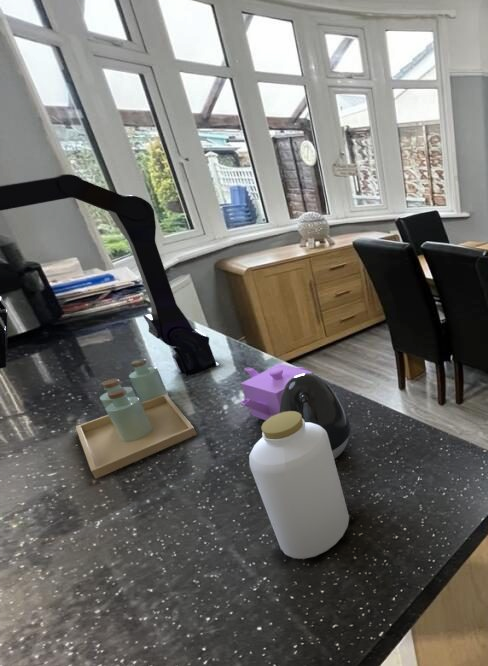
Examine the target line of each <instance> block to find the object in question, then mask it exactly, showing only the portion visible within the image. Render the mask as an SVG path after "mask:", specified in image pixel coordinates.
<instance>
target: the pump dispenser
mask: <svg viewBox="0 0 488 666" xmlns="http://www.w3.org/2000/svg"><path fill="white" fill-rule="evenodd" d="M287 411H295V412H299V413H300V414H301V415H302V418H303V419H304V421H305V422H310V423H314V424H317V425H319V426H321V427H322V428H323V429H325V431H326V432H327V435H328V438H329V442H330V446H331V450H332V453H333V457H334V460H336V459H337V458H338V457H340V455H341V454H342V453H343V452H344V451H345V449H346V446H348V443H349V440H350V439H349V438H350V434H351V430H352V429H351V423H350V420H349V417H348V414H347V413H346V410H345V408H344V407H343V405H342V403H341V400H339V398H338V396H337V395H336V393H335V392H334V390H333V389H332V387H330V385H328V383H327V382H326V381H325V380H323V379H322V378H321V377H320V376H318V375H316V374H315V373H314V374H310V373H303V374H299V375H296V376H294V377H293V378H291V379H290V380H289V381H288V382H287V384H286V386H285V388H284V390H283V393H282V396H281V401H280V410H279V413H282V412H287Z"/></svg>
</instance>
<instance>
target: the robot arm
mask: <svg viewBox="0 0 488 666" xmlns="http://www.w3.org/2000/svg"><path fill="white" fill-rule="evenodd" d="M70 198H71V199H72V198H73V199H76V200H77V201H81V202H84V203H86V204H88V205H90V206H93V207H96V208H98V209H101V210H103V211H105V212H107V213H108V214H109V216H110V217H111V219H112V221H113V222H114V223H115V226H116V227H117V229H118V230H119V231H120V233H121V234H122V236H123V237H124V238H125V240H126V242H127V243H128V245H129V248H130V250H131V253H132V256H133V259H134V261H135V264H136V267H137V269H138V272H139V276H140V279H141V280H142V283H143V286H144V289H145V292H146V294H147V297H148V300H149V303H150V307H151V311H150V313H151V314H144V315H143V318H144V320H145V321H146V323H147V325H148V332H149V333H150V334H151V335H152V336H153V337H155V338H156V339H158V340H160V341H161V342H163V343H164V344H165V345H167V346H169V347H171V348H172V347H173V348H172V352H173V353H174V354H172V359H173V362H174V364H175V367H176V369H177V371H178V372H179V373H180V374H181V375H184V376H185V377H190V376H193V375H196V374H199V373H202V372H205V371H208V370H211V369H213V368H217V367H219V366H220V365H219V363H218V362H217V360H216V358H215V356H214V353H213V351H212V348H211V346H210V337H209V336H208V335H206V334H204V333H203V332H201V331H200V330H198V329H196V328H194V327H192V325H191V323H190V322H189V320H188V318H187V317H186V315H185V314H184V313H183V312H182V310H181V308H180V307H179V305H178V304H177V302H176V298H175V296H174V292H173V289H172V286H171V283H170V281H169V277H168V276H167V272H166V269H165V266H164V263H163V260H162V256H161V254H160V252H159V248H158V245H157V241H156V232H157V231H156V229H157V224H156V215H155V210H154V208H153V206H152V204H151V203H150V202H149V201H148V200H146V199H144V198H143V197H141V196H136V195H132V194H131V195H130V194H120V193H117V192H115V191H112V190H110V189H107V188H106V187H103V186H99V185H96V184H94V183H92V182H89V181H87V180H85V179H83V178H82V177H80V176H78V175H75V174H71V173H70V174H69V173H63V174H58V175H56V176H51V177H47V178H40V179H33V180H32V179H31V180H27V181H21V182H15V183H8V184H1V185H0V211H7V210H11V209H17V208H22V207H28V206H33V205H38V204H44V203H48V202H55V201H58V200H59V201H60V200H65V199H66V200H67V199H70ZM7 352H8V309H7V304H6V302H5V300H3V298H2V296H0V370H1V369H5V368H6V367H7Z"/></svg>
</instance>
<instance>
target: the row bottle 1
mask: <svg viewBox="0 0 488 666" xmlns="http://www.w3.org/2000/svg"><path fill="white" fill-rule="evenodd" d="M101 385H102V387H103V389H105V391H106V392H104V393H103V394H102V395H100V397H99V400H100V402H101V404H102V406H103V408H104V410H105V409H106V407H107V406H108V405H110V404H111V403H113V402H112V400H111V399H110V398H109V396H108V393H109V392H111V391H113V390H115V389H119V388H124V389H125V390H126V392H127V393H126V394H127V396H128V397H137V394H135V393H136V392H135V391H134V389H133V387H131V386H123V387H122V385H121V381H120V378H118V377H117V378H111V379H108V380H107V379H106V380H105V381H103V382H102V383H101Z"/></svg>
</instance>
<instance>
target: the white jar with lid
mask: <svg viewBox="0 0 488 666" xmlns="http://www.w3.org/2000/svg"><path fill="white" fill-rule="evenodd" d="M260 429H261V431H262V432H261V433H262V434H261V436H262V437H261V438H260V439H259V440H258V441H256V443H255V444H254V446H253V447H252V449H251V451H250V453H249V457H248V458H249V459H248V460H249V461H248V462H249V463H248V464H249V469H250V472H251V473H252V477H253V480H254V482H255V485H256V488H257V490H258V492H259V495H260V498H261V500H262V503H263V506H264V508H265V511H266V514H267V516H268V519H269V522H270V524H271V527H272V530H273V533H274V535H275V537H276V540H277V542H278V545H279V548H280V549H281V551H282V552H283V553H284V555H286V556H287V557H290V558H292V559H299V560H306V559H309V558H314V557H317V556H320V555H321V554H323V553H325V552H327V551H329V549H332V547H334V546H335V545H336V544H337V543H338V542H339V541H340V540H341V539H342V537H343V536H344V535H345V533H346V531H347V529H348V527H349V522H350V515H349V511H348V507H347V504H346V499H345V496H344V492H343V488H342V484H341V481H340V477H339V473H338V469H337V466H336V461H335V459H334V457H333V453H332V450H331V446H330V442H329V438H328V435H327V432H326V431H325V429H323V428H322V427H321V426H319V425H317V424H314V423H310V422H305V421H304V419H303V418H302V415H301V414H300V413H299V412H295V411H287V412H282V413H279V414H276V415H274V416H272V417H270V418H269V419H267V420H264V422H263V423H262V425H261V428H260Z"/></svg>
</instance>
